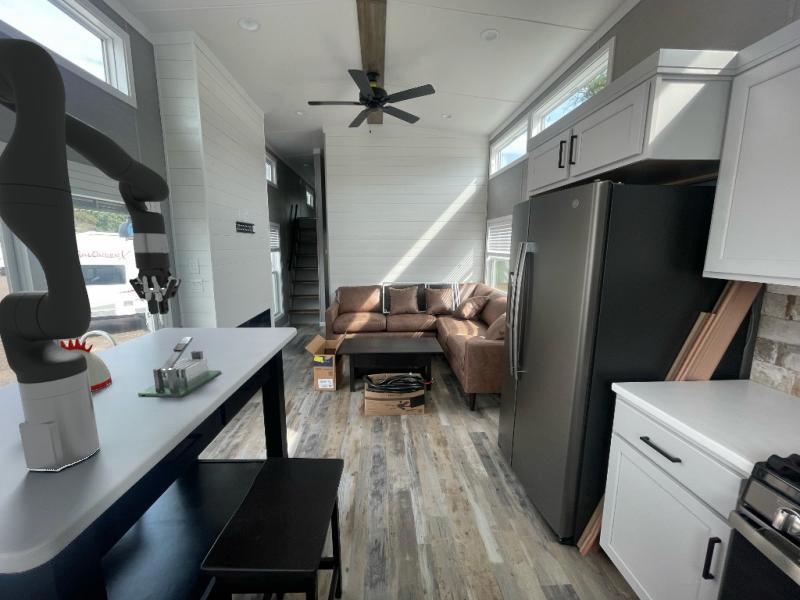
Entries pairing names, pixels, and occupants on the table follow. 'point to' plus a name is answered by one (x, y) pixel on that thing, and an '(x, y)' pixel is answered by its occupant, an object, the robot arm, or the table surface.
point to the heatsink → (181, 377)
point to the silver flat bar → (176, 354)
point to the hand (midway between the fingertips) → (159, 313)
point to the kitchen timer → (91, 364)
